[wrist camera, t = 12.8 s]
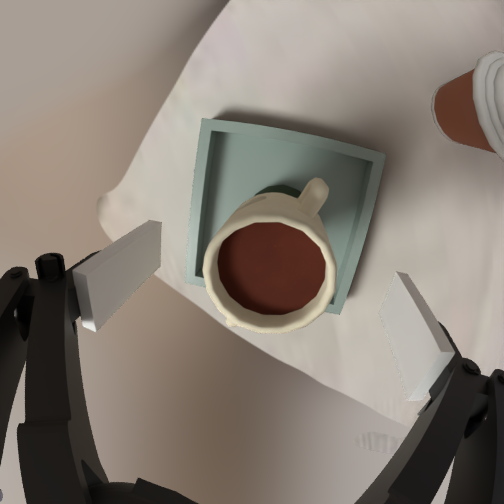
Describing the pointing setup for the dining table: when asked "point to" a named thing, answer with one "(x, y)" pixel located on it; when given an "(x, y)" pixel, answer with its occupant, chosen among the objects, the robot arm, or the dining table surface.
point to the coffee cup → (474, 106)
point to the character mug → (273, 261)
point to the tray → (282, 173)
